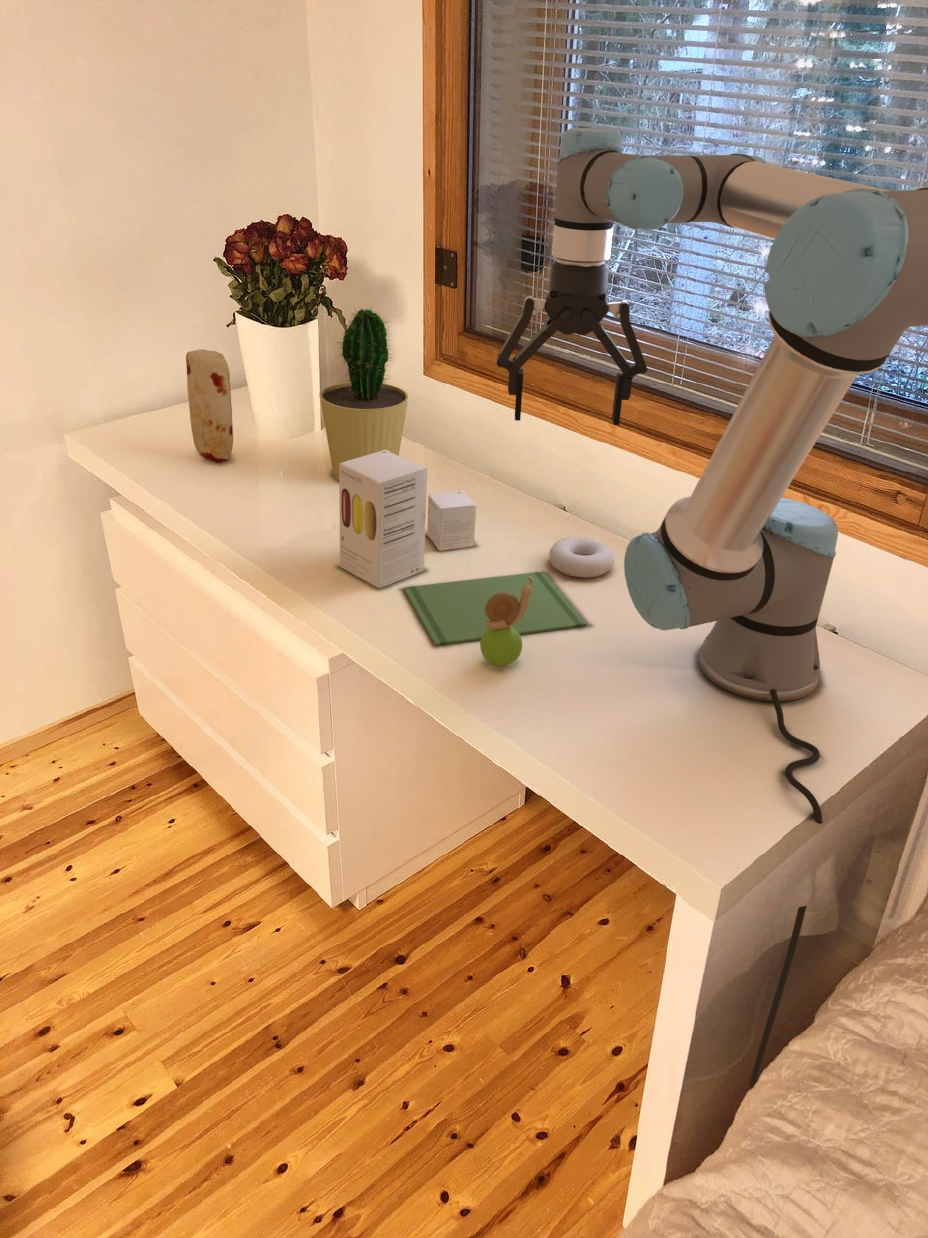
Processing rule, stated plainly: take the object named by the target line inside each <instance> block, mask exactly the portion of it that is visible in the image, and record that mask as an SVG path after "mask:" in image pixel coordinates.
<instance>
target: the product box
mask: <svg viewBox="0 0 928 1238" xmlns="http://www.w3.org/2000/svg"><path fill="white" fill-rule="evenodd" d="M427 499H428V500H427V524H426V526H427V527H426V536H427V537H428V538H429V539H430V540H431V542H432V543H433V544H434V546H435V547H436V549H437V550H438V551H439V552H441V551H448V550H456V549H464V548H472V547H474V546H475V533H476V519H477V505H476V503H475V502H474V501H473V500H472V498H471V497H470V496H468V494H467V493H466V492H465V491H464V490H454V491H453V490H452V491H445V492H444V491H443V492H436V493H435V492H434V493H428V495H427Z"/></svg>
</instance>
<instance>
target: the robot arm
mask: <svg viewBox="0 0 928 1238" xmlns="http://www.w3.org/2000/svg"><path fill="white" fill-rule="evenodd" d="M560 138H561V139H560V146H559V147H560V148H559V155H558V159H557V162H556V165H557V170H556V171H557V173H556V188H555V189H556V190H555V204H554V205H555V206H554V224H553V232H552V245H551V247H552V248H551V256H552V257H553V258H554V260H553V261H552V262H551V263H550V271H549V284H548V294H547V297H546V298H545V299H544V298H543V299H542V298H536V297H534V296H533V295H531V294H527V295H525V297H524V301H523V307H522V312H521V313H520V315H519V317H518V318H517V320H516V322H515V323H514V326H513V327H512V329H511V331H510V332H509V334H508V336H507V338H506V339H505V341H504V343H503V345H502V347H501V349H500V350H499V352H498V354H497V355H496V366H497V367H498V368H502V369H505V370H506V371H508V381H507V382H508V384H507V392H508V395H509V396H515V401H514V402H515V403H514V421H520V422H521V419H522V418H521V416H522V404H523V403H522V401H523V400H522V399H523V385H524V368H522V367H523V366H524V365H525V364H526V363H527V362H528V361H529V360H530V359H531V358H532V357H533V356H534V355H535V353H536V352H537V351H538V350H539V349H540V348H542V346H543V345H544V344H545V343H546V342H547V341H548V340H549V339H550V338H552V337H553V336H554V334H556V333H557V332H559V333H560V334H562V335H566V336H569V335H578V336H587V335H588V334H591V333H593V335H594V336H595V337H596V338H597V340H598V341H599V342H600V343H601V345H602V346H603V347H604V349H605V351H606V352H607V354H608V355H609V356H610V357H611V359H612V361H614V363H615V364H616V366H617V367H618V369H619V370H620V371H621V372H616V376H615V377H616V378H615V386H614V396H613V404H612V412H611V421H612V424H613V426H620V421H621V412H622V404H623V403H622V402H623V401H629V400H630V398H631V394H632V386H633V385H632V384H633V379H634V377H635V376H637V375H644V374H646V373H647V371H648V366H647V364H646V363H647V362H646V361H645V358H644V355H643V353H642V350H641V348H640V345H639V342H638V339H637V337H636V334H635V332H634V331H635V330H634V329H633V326H632V323H631V321H630V320H631V319H630V305H629V302H628V300H626V299H625V298H622V299H620V300H619V301H608V300H607V291H608V283H609V282H608V281H609V272H610V266H609V265H608V263H607V261H609V260H610V259H611V252H612V243H613V234H614V233H613V231H614V223H618V224H621V225H622V226H626V227H627V228H630V229H634V230H637V229H642V230H647V231H654V230H657V229H660V228H662V227H663V226H665V225H667V224H684V223H685V224H688V223H713V224H718V225H722V226H725V227H728V228H732V229H737V230H741V231H743V232H746V233H750V234H752V235H756V236H759V237H763V238H766V239H769V240H772V241H773V242H772V244H771V246H770V249H769V251H768V255H767V259H766V262H765V266H764V267H765V269H764V272H765V273H766V274H768V276H769V278H768V280H767V281H766V282H764V285H763V287H764V294H765V300H766V304H767V307H768V309H769V311H768V313H767V314H768V315H767V316H768V317H767V320H768V324H769V327H770V329H771V331H772V333H773V337H772V339H771V341H770V343H769V345H768V347H767V349H766V351H765V352H764V355H763V357H762V358H761V360H760V362H759V364H758V366H757V368H756V370H755V372H754V373H753V376H752V377H751V380H750V382H749V383H748V385H747V387H746V389H745V391H744V393H743V395H742V397H741V398H740V401H739V402H738V405H737V407H736V408H735V411H734V413H733V414H732V416H731V418H730V420H729V422H728V424H727V426H726V427H725V430H724V431H723V433H722V436H721V437H720V439H719V441H718V443H717V445H716V447H715V449H714V451H713V453H712V454H711V456H710V458H709V460H708V462H707V464H706V466H705V468H704V470H703V471H702V474H701V476H700V478H699V479H698V481H697V483H696V485H695V487H694V489H693V491H692V493H691V495H690V496H686V497H683V498H680V499H678V500H677V501H675V502H674V503H673V504H672V505H671V506H670V507H669V509H668V510H667V512H666V514H665V516H664V517H663V520H662V521H661V523H660V526H659V528H658V529H657V530H656V531H654V532H651V533H650V532H647V531H646V532H642V533H641V534H638V535H636V536H635V537H633V538H632V539H631V540H630V541H629V543H628V544H627V546H626V549H625V553H624V562H623V564H624V565H623V569H624V577H625V578H624V579H625V582H626V588H627V590H628V594H629V597H630V599H631V601H632V603H633V606H634V607H635V610H636V611H637V613H638V614H639V616H640V617H641V618H642V619H643V620H644V621H645V622H646V623H647V624H648V625H649V626H651V627H652V628H654V629H658V630H660V631H672V630H676V629H677V630H679V629H680V630H686V629H688V628H691V627H696V626H700V625H704V624H708V623H714V622H715V623H714V624H713V626H712V628H711V631H710V632H709V633H708V634H707V636H706V637H705V638H704V640H703V643H702V645H701V647H700V651H699V659H698V662H699V667H700V669H701V671H702V672H703V673H704V675H705V676H706V677H707V678H708V679H709V680H710V681H711V682H712V683H714V684H715V685H717V686H718V687H720V688H722V689H724V690H725V691H728V692H730V693H732V694H735V695H737V696H740V697H743V698H747V699H752V700H755V701H756V700H757V701H762V702H772V703H773V706H774V711H775V713H776V719H777V720H776V721H777V726H778V730H779V732H780V734H781V736H782V737H784V739H786V740H787V741H788V742H790V743H792V744H793V745H796V746H798V747H801V748H803V749H806V750H808V751H809V752H811V754H812V755H811V756H809V757H806V758H802V759H797V760H793V761H792V762H789V764H787V765H786V767H785V770H784V774H785V778H786V780H787V782H788V783H789V784H790V785H791V786H792V787H794V788H795V789H796V790H797V791H798V792H799V793H801V794H802V795H803V796H804V797H805V798H806V799H807V801H808V803H809V804H810V807H811V810H812V811H813V817H814V823H816V824H819V825H822V824H823V814H822V810H821V806H820V803H819V801H818V799H817V798H816V797H815V795H814V793H812V792H811V791H810V790H809V789H808V788H807V787H806V786H805V785H803V783H801V782H800V781H799V780H797V778H795V776H794V775H793V772H794V770H795V769H797V768H801V767H805V766H808V765H809V766H810V765H812V764H815V763H817V762H818V761H819V759H820V758H821V757H820V756H821V753H820V750H819V748H818V747H817V746H815V745H814V744H812V743H810V742H807V741H805V740H803V739H801V738H798V737H796V736H794V735H793V734H791V733H790V732H789V731H788V729H787V727H786V725H785V718H784V711H783V709H782V705H781V702H790V701H795V700H799V699H802V698H804V697H806V696H808V695H810V694H811V693H812V692H814V690H815V689H816V687H817V685H818V682H819V678H820V674H821V660H820V651H819V644H818V636H817V625H818V620H819V616H820V614H821V613H820V612H821V608H822V605H823V602H824V597H825V594H826V590H827V586H828V582H829V578H830V575H831V571H832V567H833V564H834V559H835V557H836V556H837V551H836V546H837V542H838V537H839V530H838V526H837V523H836V522H835V520H833V518H832V517H831V516H830V515H828V514H827V513H825V511H822V510H820V509H818V508H817V507H814V506H812V505H810V504H807V503H804V502H801V501H798V500H795V499H791V498H787V497H784V494H785V493H786V491H787V490H788V488H789V486H790V485H791V483H792V482H793V481H794V478H795V476H796V475H797V473H798V471H799V470H800V469H801V467H802V465H803V464H804V462H805V461H806V459H807V457H808V455H809V454H810V452H811V451H812V449H813V448H814V446H815V444H816V442H817V441H818V439H819V437H820V436H821V435H822V433H823V431H824V430H825V428H826V427H827V424H828V423H829V421H830V420H831V418H832V417H833V415H834V414H835V411H836V410H837V409H838V407H839V405H840V404H841V402H842V400H843V399H844V397H845V395H846V394H847V392H848V390H849V389H850V387H851V386H852V384H853V383H854V381H855V379H856V377H857V376H859V375H860V376H861V375H865V374H866V375H867V374H870V373H874V372H875V371H878V370H879V369H880V368H881V367H882V366H883V365H884V364H885V362H886V361H887V359H888V358H889V356H890V354H891V353H892V351H893V350H894V348H895V346H896V345H897V344H898V342H899V340H900V339H901V337H902V335H903V334H904V332H905V331H906V330H907V329H909V328H911V327H914V328H915V327H923V326H928V186H920V187H917V188H914V189H910V190H909V189H908V190H889V189H885V188H879V187H875V186H870V185H867V184H862V183H856V182H853V181H848V180H843V179H838V178H833V177H829V176H824V175H820V174H815V173H811V172H805V171H802V170H797V169H792V168H788V167H782V166H779V165H774V164H769V163H767V162H766V160H765V159H764V158H762V157H760V156H757V155H749V154H744V153H730V154H716V155H714V154H712V155H709V154H707V155H692V154H691V155H690V154H688V155H686V154H681V155H679V154H678V155H677V154H676V155H675V154H655V155H654V154H651V155H650V154H648V155H647V154H645V155H643V154H631V153H624V152H623V149H622V145H623V144H622V135H621V134H620V133H619V132H618V131H617V130H614V129H606V128H593V127H592V128H591V127H573V128H569V129H567V130H565V131H564V132H563V133H562V135H561V137H560ZM541 310H544V311H545V313H546V315H547V316H548V319H547V321H545V322H544V324H543V325H542V326H541V328H540V329H538V331H537V332H536V333H535V335H533V337H531V339H530V340H529V341H527V342H526V344H525V345H524V346H523V347H522V348H521V349H520V350H519V351H518V352H517V353H516V354H515V355H514V356H513V358H510V357H511V355H512V354H513V352H514V350H515V349H516V347H517V345H518V343H519V341H520V339H521V337H522V335H524V333H525V331H526V329H527V327H528V326H529V324H530V322H531V320H532V317H533V316H537V315H538V314H539V312H540V311H541ZM609 312H610V313H612V316H613V317H614V319H616V320H618V321H619V323H620V326H621V329H622V331H623V334H624V337H625V340H626V342H627V344H628V347H629V350H630V353H631V356H632V358H633V361H634V362H633V363H629V361H628V360H627V359H626V357H625V355H623V353H622V351H621V350H620V349H619V348H618V346H617V344H616V343H615V342H614V340H613V339H612V338H611V336H610V334H609V333H608V332H607V330H606V329H605V327H604V326H603V324H602V323H601V321H603V319H604V318H605V317H606V316H607V315H608V313H609ZM806 910H807V905H803V906H799V907H797V912H796V916H795V920H794V925H793V928H792V933H791V936H790V940H789V943H788V947H787V951H786V955H785V959H784V962H783V964H782V965H783V966H782V968H781V973H780V976H779V980H778V983H777V986H776V990H775V994H774V996H773V1000H772V1002H771V1007H770V1010H769V1012H768V1016H767V1020H766V1023H765V1025H764V1031H763V1033H762V1036H761V1040H760V1043H759V1047H758V1051H757V1053H756V1057H755V1061H754V1064H753V1068H752V1070H751V1071H752V1072H751V1076H750V1079H749V1084H748V1085H749V1086H750V1087H751V1088H754V1087H753V1086H754V1085H755V1083H756V1084H757V1081H758V1078H759V1075H760V1071H761V1067H762V1064H763V1060H764V1057H765V1054H766V1051H767V1047H768V1043H769V1040H770V1037H771V1034H772V1030H773V1026H774V1023H775V1020H776V1018H777V1013H778V1010H779V1007H780V1003H781V1000H782V998H783V994H784V990H785V987H786V983H787V980H788V977H789V974H790V971H791V967H792V964H793V960H794V956H795V953H796V949H797V945H798V942H799V937H800V935H801V931H802V926H803V924H804V923H803V922H804V919H805V914H806Z"/></svg>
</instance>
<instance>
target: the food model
mask: <svg viewBox="0 0 928 1238" xmlns="http://www.w3.org/2000/svg"><path fill="white" fill-rule="evenodd" d="M185 364H186V365H185V366H186V382H187V383H186V384H187V386H186V387H187V398H188V407H189V408H188V409H189V420H190V427H191V434H192V439H193V444H194V447H195V450H196V452H197V453H198V454H199V456H201V457H202V458H203V459H204V460H208V461H210V462H213V463H216V464H221V463H224V462H228V461H230V460H231V457H232V451H233V449H234V428H233V427H234V425H233V424H234V423H233V405H232V392H231V375H230V369H229V365H228V362H227V359H226V358H225V356H224V355H223V353H221V352H219V351H216V350H208V349H204V348H203V349H202V348H201V349H200V348H199V349H195V350H190V351H188V352H186V354H185Z"/></svg>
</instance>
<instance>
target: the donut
mask: <svg viewBox="0 0 928 1238" xmlns="http://www.w3.org/2000/svg"><path fill="white" fill-rule="evenodd" d="M548 553H549V554H548V555H549V562H550V563H551V565H552V566H553V567H554V569H556V570H557V571H559V572H560V573H562V574H565V575H567V576H571V577H576V578H585V579H586V578H588V579H589V578H596V577H599V576H602V575H604V574H606V573H607V572H609V571H610V570H611V568H613V565H614V563H615V556H614V552H613V550H612V549H611V548H610V547H609V546H608V545H607V544H606V543H605V542H603V541H601V540H598V539H596V538H593V537H588V536H567V537H565V538H564V537H563V538H561V539H559V540H558V541H555V542H554V543H553V544H552V546H551V548H550V549H549V552H548Z"/></svg>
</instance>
